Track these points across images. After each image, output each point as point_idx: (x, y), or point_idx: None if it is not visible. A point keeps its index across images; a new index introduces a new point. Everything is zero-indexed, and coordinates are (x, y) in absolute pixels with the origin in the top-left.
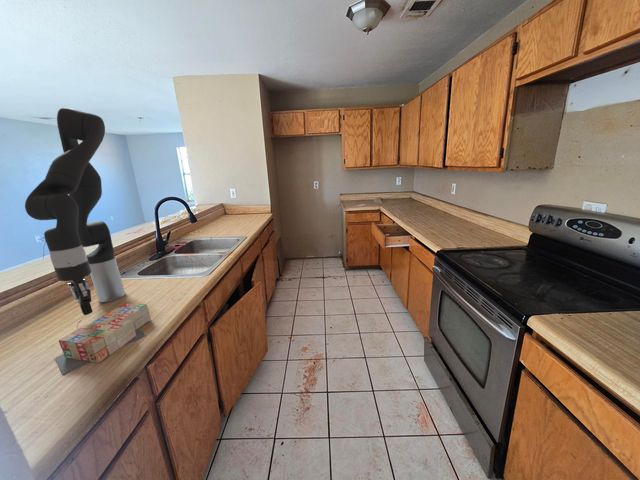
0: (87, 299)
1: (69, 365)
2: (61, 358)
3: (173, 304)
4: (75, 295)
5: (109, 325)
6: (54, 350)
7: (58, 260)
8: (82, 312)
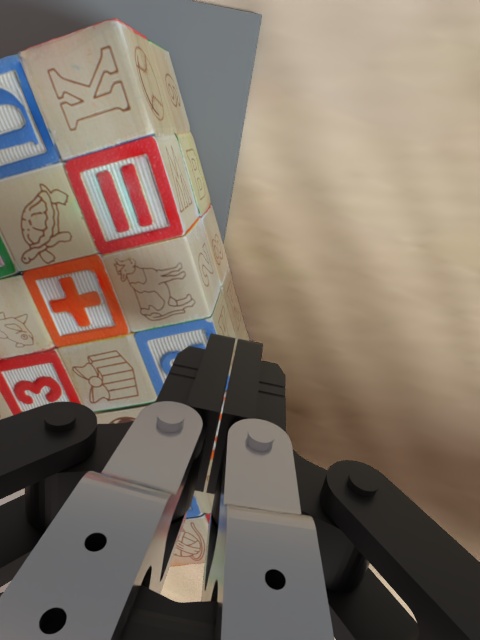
0: (26, 514)
1: (52, 30)
2: (203, 39)
3: (198, 595)
4: (36, 547)
5: (9, 344)
6: (396, 66)
7: None
8: (240, 347)
